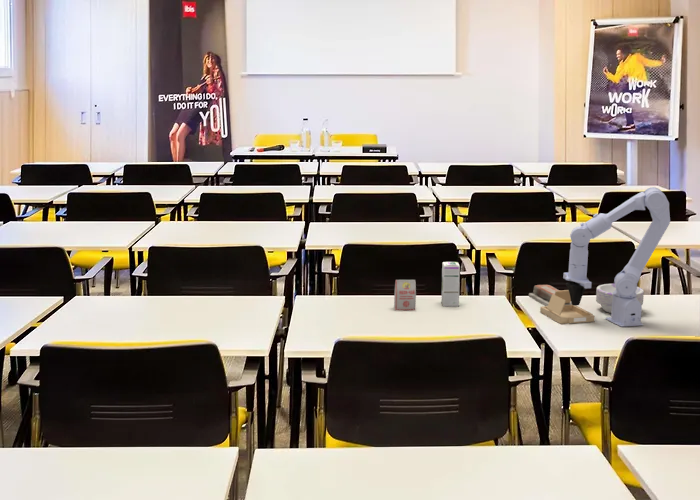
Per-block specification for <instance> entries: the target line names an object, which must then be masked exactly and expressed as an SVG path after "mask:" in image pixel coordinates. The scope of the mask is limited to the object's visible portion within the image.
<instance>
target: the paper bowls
mask: <svg viewBox="0 0 700 500" xmlns="http://www.w3.org/2000/svg"><path fill="white" fill-rule="evenodd" d="M615 290H616V286H615V283H604V284H599V285H598V286H597V287H596V292H595V295H596V297H595V302H596V303H597V304H600V305H601V309H603V311H604V312H607V313H609V314H611V312H612V299H613V292H614V291H615ZM635 293H636V294H637V295H636V297H637V300H638V301H639V302H640V303H641V306H643V303H644V293H645V292H644V289H643V288H642V287H639V286H637V290H636V292H635Z"/></svg>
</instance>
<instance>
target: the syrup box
mask: <svg viewBox="0 0 700 500" xmlns="http://www.w3.org/2000/svg"><path fill="white" fill-rule="evenodd" d="M441 264H442V268H441V305H442V306H443V307H460V283H461V282H460V276H461V275H460V274H461V272H460V271H461V270H460V269H461V266H460V264H459V262H458V261H443V262H442V263H441Z"/></svg>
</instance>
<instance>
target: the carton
mask: <svg viewBox="0 0 700 500" xmlns="http://www.w3.org/2000/svg"><path fill="white" fill-rule="evenodd" d="M539 308H540V309H539V310H540V311H539V312H540V314H542V315H544V316H546V317H548V318H549V319H551V320H553V321H554V322H556V323H558V324H560V325H566V324H579V323H593V322H595V316H596V315H594V314H593V313H591V312H590V311H588V310H586V309H584V308H582V307H580V306H579V305H577V306H575V305H564V308H563V310H562V313H561V315H558V314H557V313H555V312H553V311H551V310H549V309H548V308H547V306H544V305H542V306H540V307H539Z"/></svg>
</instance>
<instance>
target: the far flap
mask: <svg viewBox="0 0 700 500" xmlns="http://www.w3.org/2000/svg"><path fill="white" fill-rule="evenodd" d="M555 295H556V296H558V297H560V298H562V299H564V300H566V303H571V298H570V293H569V290H568V289H564V290H559V291H556V292H555Z"/></svg>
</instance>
